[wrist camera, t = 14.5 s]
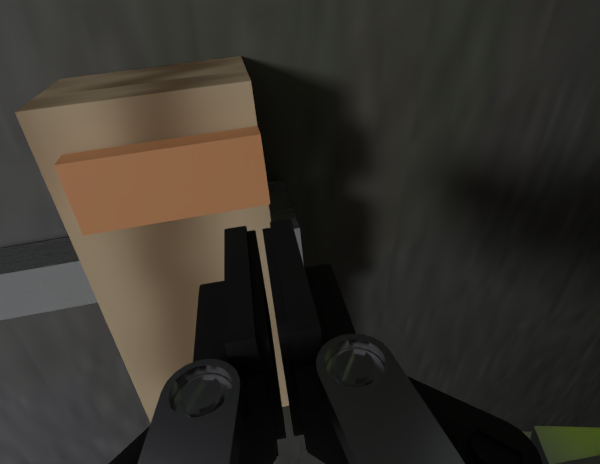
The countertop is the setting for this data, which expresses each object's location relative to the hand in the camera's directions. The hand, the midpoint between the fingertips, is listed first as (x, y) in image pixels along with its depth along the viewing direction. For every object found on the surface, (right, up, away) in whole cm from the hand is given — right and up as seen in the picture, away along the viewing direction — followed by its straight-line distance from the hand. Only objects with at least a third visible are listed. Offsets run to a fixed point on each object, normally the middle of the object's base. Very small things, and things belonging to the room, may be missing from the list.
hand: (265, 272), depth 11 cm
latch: (-4, +3, +5) cm, 7 cm away
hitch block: (-5, +1, +13) cm, 14 cm away
